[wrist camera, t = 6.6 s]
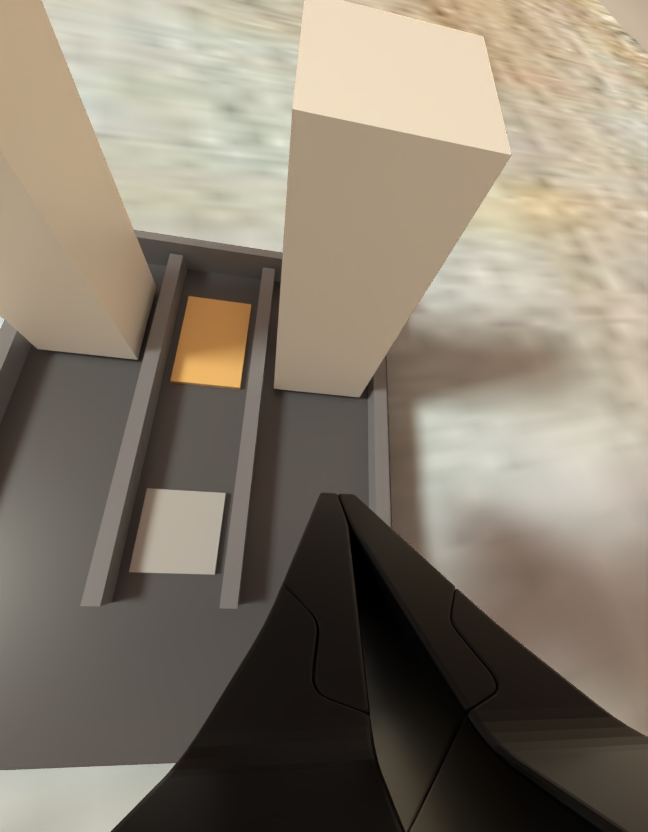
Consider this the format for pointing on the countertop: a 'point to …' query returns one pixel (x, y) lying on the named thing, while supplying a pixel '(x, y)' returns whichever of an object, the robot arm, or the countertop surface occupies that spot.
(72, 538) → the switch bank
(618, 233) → the countertop surface
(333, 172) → the cream tall block
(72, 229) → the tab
